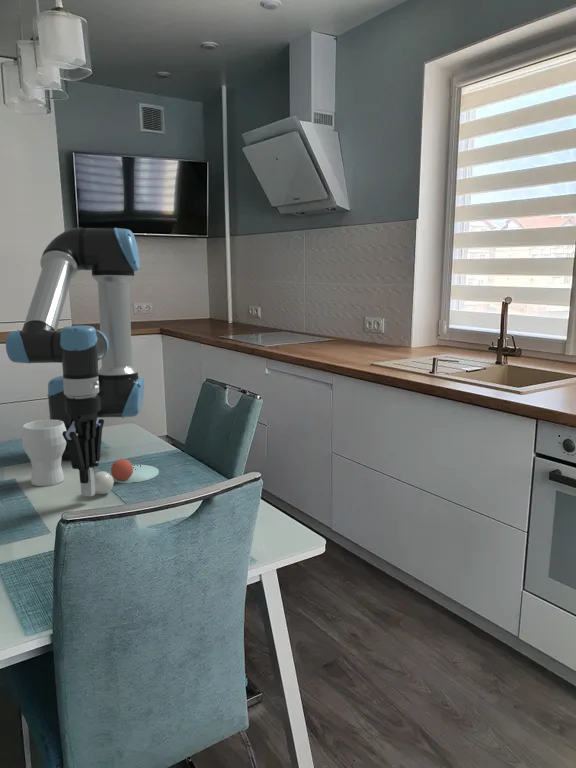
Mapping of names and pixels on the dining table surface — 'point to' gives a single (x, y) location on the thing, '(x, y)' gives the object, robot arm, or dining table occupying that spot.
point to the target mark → (140, 474)
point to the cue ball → (103, 482)
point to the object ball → (121, 469)
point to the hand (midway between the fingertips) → (88, 494)
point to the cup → (45, 450)
